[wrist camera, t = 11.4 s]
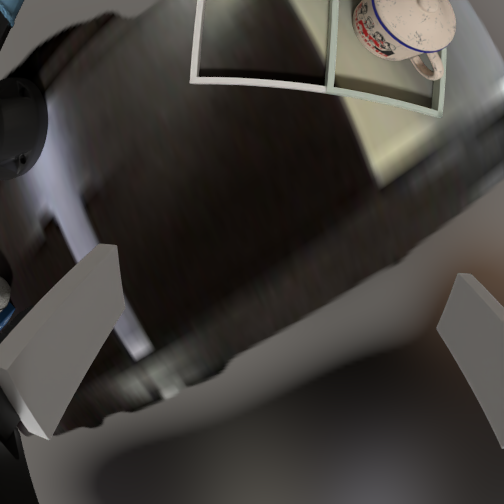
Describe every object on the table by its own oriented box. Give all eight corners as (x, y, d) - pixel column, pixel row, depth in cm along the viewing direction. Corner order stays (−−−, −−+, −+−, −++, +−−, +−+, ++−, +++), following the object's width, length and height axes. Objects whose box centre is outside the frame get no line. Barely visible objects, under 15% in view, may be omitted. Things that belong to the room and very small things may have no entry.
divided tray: (192, 84, 32) (188, 82, 30) (205, -42, 24) (202, -48, 23) (435, 117, 31) (442, 118, 30) (438, -3, 24) (444, -7, 23)
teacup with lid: (334, 9, 27) (361, -30, 16) (394, -12, 25) (436, -45, 14) (387, 95, 31) (435, 91, 20) (442, 70, 29) (498, 64, 18)
